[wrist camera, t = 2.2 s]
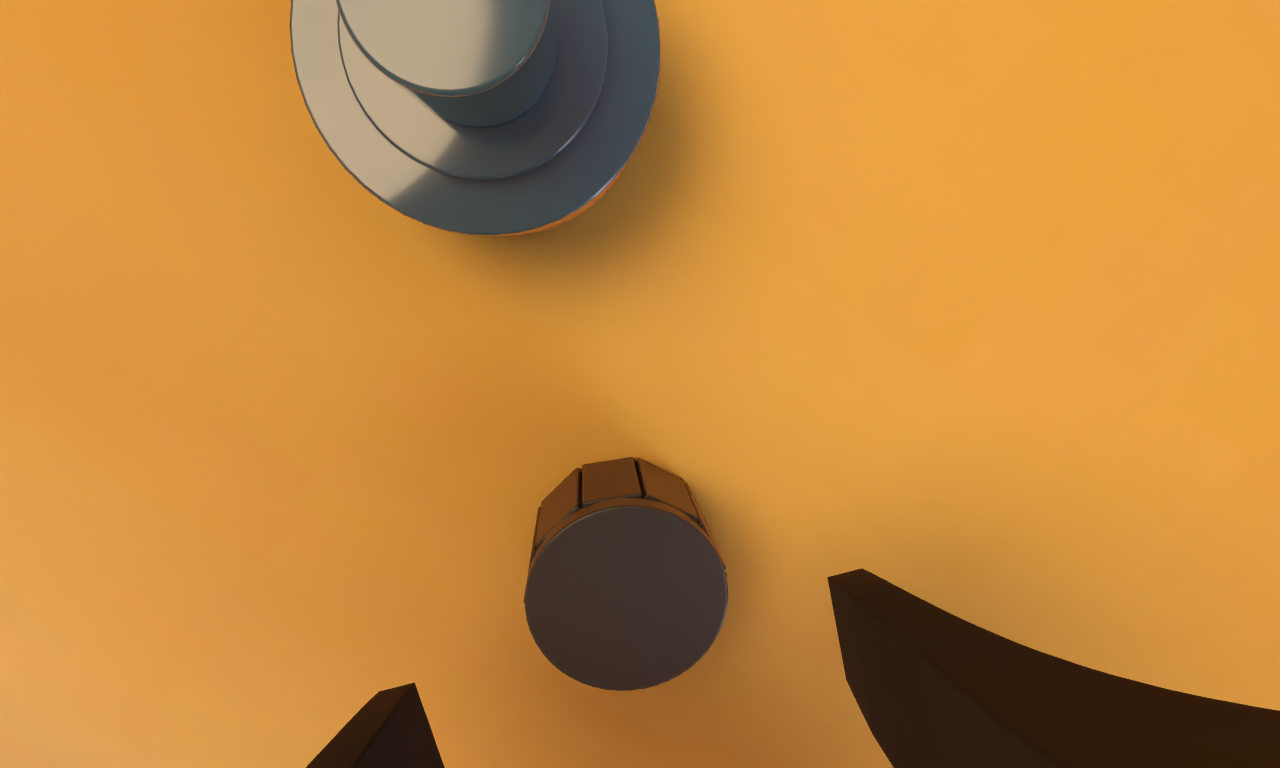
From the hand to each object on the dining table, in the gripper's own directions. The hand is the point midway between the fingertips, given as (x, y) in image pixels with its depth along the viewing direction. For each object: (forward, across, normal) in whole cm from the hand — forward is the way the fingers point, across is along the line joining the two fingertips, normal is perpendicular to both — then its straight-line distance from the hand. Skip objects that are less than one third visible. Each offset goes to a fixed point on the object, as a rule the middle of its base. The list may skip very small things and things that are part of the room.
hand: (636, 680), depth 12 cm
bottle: (+6, 0, -11) cm, 12 cm away
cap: (+6, 0, 0) cm, 6 cm away
